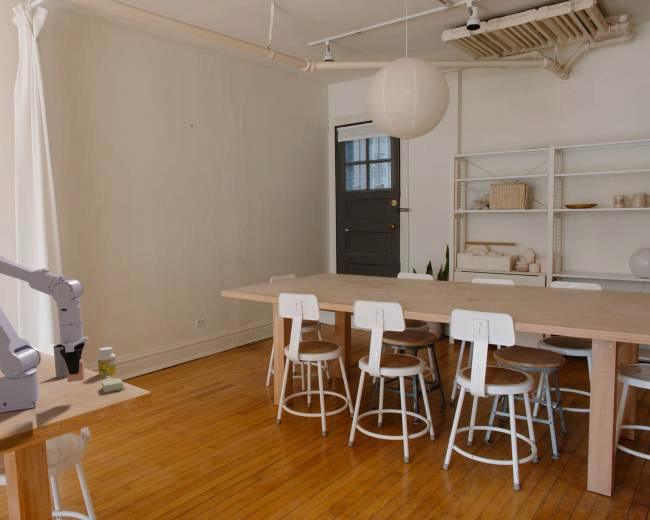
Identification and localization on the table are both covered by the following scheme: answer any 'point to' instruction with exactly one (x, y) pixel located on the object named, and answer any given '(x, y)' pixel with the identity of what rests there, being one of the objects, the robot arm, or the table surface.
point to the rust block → (78, 376)
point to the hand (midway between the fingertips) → (74, 371)
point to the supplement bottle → (107, 362)
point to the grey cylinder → (59, 362)
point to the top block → (112, 385)
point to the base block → (111, 391)
